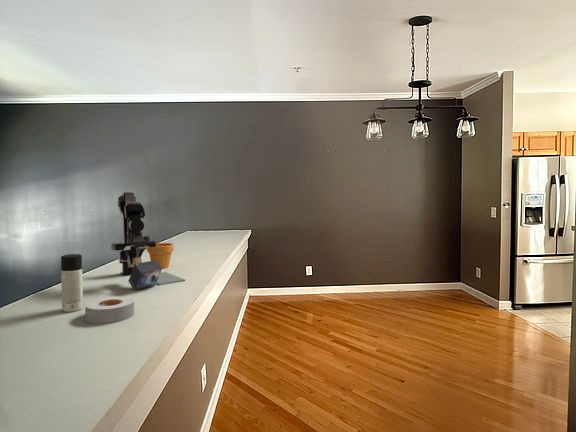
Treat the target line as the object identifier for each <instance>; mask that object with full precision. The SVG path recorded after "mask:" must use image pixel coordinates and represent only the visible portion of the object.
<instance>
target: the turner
mask: <svg viewBox="0 0 576 432" xmlns="http://www.w3.org/2000/svg"><path fill="white" fill-rule="evenodd" d="M127 261H128V267H134V264H136V263H142V262H143V261H142V256H141V257H138V258H132V264H130V261H129V259H127Z"/></svg>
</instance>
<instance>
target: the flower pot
mask: <svg viewBox="0 0 576 432" xmlns="http://www.w3.org/2000/svg"><path fill="white" fill-rule="evenodd" d="M146 248H147V249H146V251H147V253H148V254H149V258H150V261H155V260H156V261H157V263H158V264H159V265H160V267H161V268H162V269H167V268H169V267H170V263H171V258H172V253H173V251H174V243H171V242H156V247H149V246H146Z"/></svg>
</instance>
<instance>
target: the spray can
mask: <svg viewBox="0 0 576 432" xmlns="http://www.w3.org/2000/svg"><path fill="white" fill-rule="evenodd" d="M82 258H83V256H82V254H80V253H70V254H68V253H67V254H64V255H61V257H60V273H61V274H60V275H61V277H60V279H61V307H62V308H61V310H62V312H65V313H72V312H78V311H80V310H82V309H83V308H84V296H83V295H84V293H83V292H84V291H83V289H84V288H83V286H84V285H83V283H84V282H83V259H82Z"/></svg>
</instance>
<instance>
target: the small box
mask: <svg viewBox="0 0 576 432" xmlns="http://www.w3.org/2000/svg"><path fill="white" fill-rule="evenodd" d="M162 270H163V268H161V267H160V265H159V264H158V263H157V261H156V260H155V261H151V260H149V261H144V262H143V261H142V263H136V264H134V267H133V270H132V273H131V275H130V276H129V279H128V284H130V286H131V287H132V289H133V290H134V291H137V290H142V289H146V288H149V287H154V286H155V287H156V285H157V284H156V283H157V280H158V278H159V275H160V273H162Z"/></svg>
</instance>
